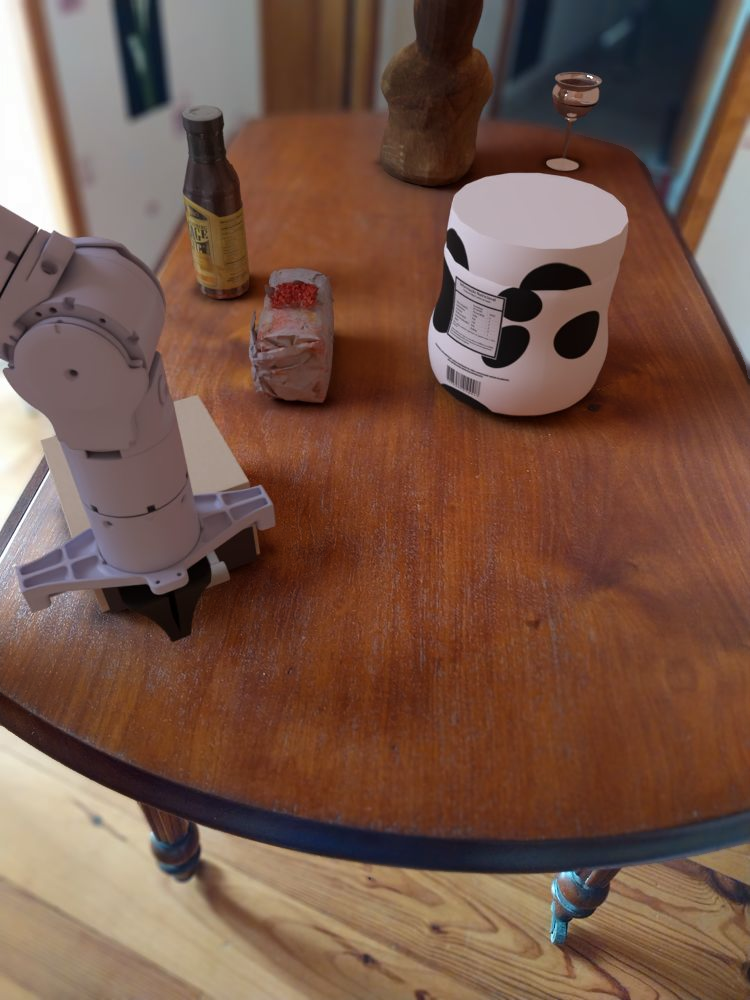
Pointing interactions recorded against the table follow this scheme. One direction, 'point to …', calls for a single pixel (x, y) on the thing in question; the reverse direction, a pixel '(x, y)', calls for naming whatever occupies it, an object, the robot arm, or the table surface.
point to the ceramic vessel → (436, 95)
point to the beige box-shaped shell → (204, 458)
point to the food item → (294, 337)
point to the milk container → (526, 292)
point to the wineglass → (573, 106)
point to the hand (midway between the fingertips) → (177, 627)
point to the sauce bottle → (214, 207)
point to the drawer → (220, 559)
